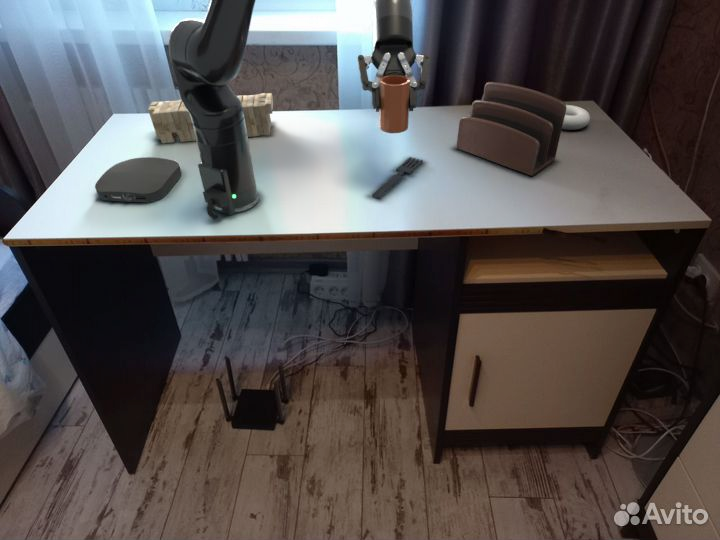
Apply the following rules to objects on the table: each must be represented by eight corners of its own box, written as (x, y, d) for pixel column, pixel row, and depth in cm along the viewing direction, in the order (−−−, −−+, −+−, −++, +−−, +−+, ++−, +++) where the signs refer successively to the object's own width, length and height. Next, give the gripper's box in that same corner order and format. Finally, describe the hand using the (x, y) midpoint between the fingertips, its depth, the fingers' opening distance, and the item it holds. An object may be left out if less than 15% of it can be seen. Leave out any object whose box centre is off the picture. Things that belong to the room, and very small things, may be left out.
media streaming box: (187, 169, 112) (184, 157, 110) (159, 205, 101) (155, 192, 99) (125, 167, 114) (121, 154, 112) (91, 201, 103) (86, 188, 101)
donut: (596, 126, 125) (565, 112, 132) (600, 113, 123) (568, 99, 130) (568, 136, 121) (537, 121, 128) (571, 122, 119) (540, 107, 126)
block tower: (156, 147, 123) (276, 135, 125) (145, 114, 118) (270, 101, 119) (162, 133, 129) (276, 122, 131) (152, 101, 124) (271, 89, 125)
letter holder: (479, 135, 123) (487, 76, 114) (555, 161, 112) (571, 98, 103) (455, 149, 117) (461, 88, 108) (532, 177, 106) (546, 112, 97)
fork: (383, 200, 101) (383, 197, 100) (368, 195, 102) (368, 193, 102) (423, 162, 112) (423, 160, 112) (409, 159, 114) (409, 156, 113)
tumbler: (399, 135, 96) (401, 87, 90) (374, 129, 98) (373, 82, 92) (413, 124, 100) (415, 77, 94) (388, 119, 102) (388, 72, 96)
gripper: (354, 13, 93) (356, 102, 91) (433, 12, 93) (435, 100, 91) (355, 36, 100) (356, 118, 99) (427, 34, 100) (430, 117, 98)
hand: (394, 109), depth 95 cm, fingers closed on tumbler, 5 cm apart
